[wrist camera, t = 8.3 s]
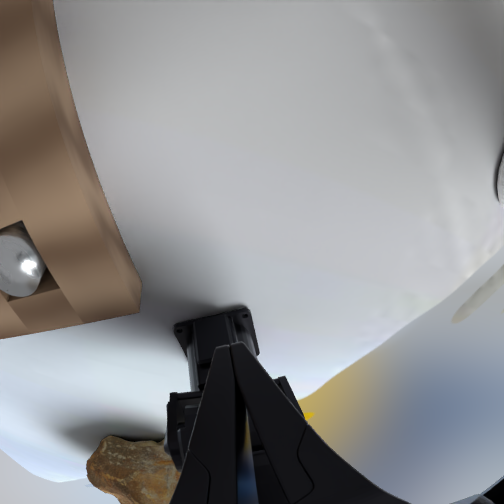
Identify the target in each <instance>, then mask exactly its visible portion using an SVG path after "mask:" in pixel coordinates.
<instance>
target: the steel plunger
mask: <svg viewBox="0 0 504 504" xmlns="http://www.w3.org/2000/svg"><path fill="white" fill-rule="evenodd" d="M46 267H47V266H46V264H45V262H44V260H43V259H42V257H41V255H40V253H39V252H38V250H37V248H36V246H35V244H34V242H33V240H32V239H31V237H30V235H29V233H28V231H27V229H26V227H25V225H24V223H23V221H22V220H20V221H18V222H16V223H13V224H11V225H8V226H6V227H4V228H1V229H0V289H1V290H2V291H4V292H5V293H7V294H10V295H12V296H17V297H25V296H29V295H31V294H32V293H34V292H35V290H36V289H37V287H38V285H39V282H40V280H41V278H42V276H43V274H44V271H45V269H46Z"/></svg>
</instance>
